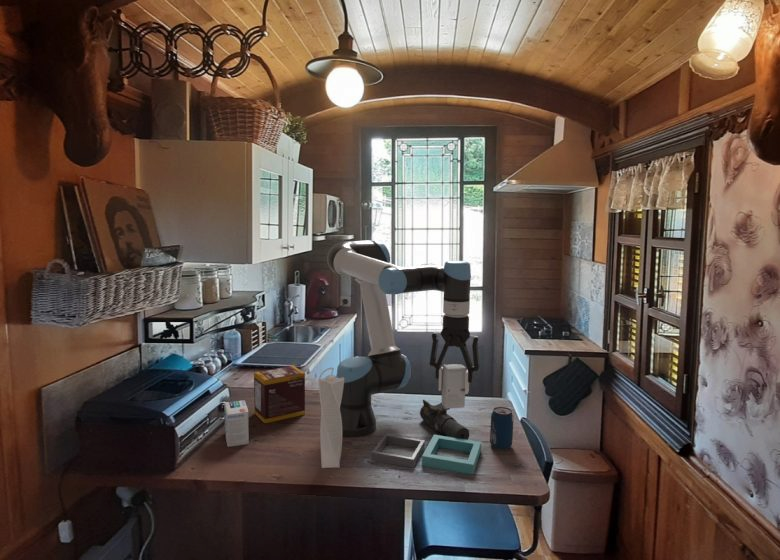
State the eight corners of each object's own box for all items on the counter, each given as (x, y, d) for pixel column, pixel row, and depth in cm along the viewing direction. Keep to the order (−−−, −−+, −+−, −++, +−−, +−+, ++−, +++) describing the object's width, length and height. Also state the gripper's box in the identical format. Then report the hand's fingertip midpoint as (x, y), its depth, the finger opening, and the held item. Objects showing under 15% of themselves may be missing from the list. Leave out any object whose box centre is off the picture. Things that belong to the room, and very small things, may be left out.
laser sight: (449, 448, 163) (450, 418, 162) (413, 421, 183) (414, 394, 182) (474, 442, 168) (475, 412, 166) (436, 416, 188) (437, 390, 186)
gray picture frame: (371, 460, 155) (371, 452, 154) (385, 441, 167) (385, 434, 167) (413, 467, 151) (413, 459, 150) (424, 447, 163) (424, 440, 163)
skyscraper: (319, 456, 156) (319, 366, 152) (344, 455, 157) (344, 366, 153) (317, 469, 149) (317, 375, 144) (343, 469, 149) (344, 375, 145)
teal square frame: (421, 465, 152) (422, 455, 152) (433, 443, 166) (434, 434, 166) (473, 474, 147) (473, 464, 147) (480, 451, 162) (481, 442, 161)
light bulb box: (224, 433, 171) (223, 402, 169) (245, 430, 173) (244, 399, 172) (227, 447, 161) (226, 414, 159) (249, 444, 164) (248, 411, 162)
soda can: (514, 444, 166) (516, 409, 164) (507, 453, 160) (509, 416, 159) (494, 439, 170) (495, 404, 168) (486, 447, 164) (488, 411, 162)
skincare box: (445, 409, 151) (446, 369, 149) (440, 403, 155) (441, 364, 154) (465, 407, 152) (467, 367, 151) (460, 402, 157) (461, 363, 155)
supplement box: (305, 414, 187) (305, 372, 185) (264, 424, 178) (263, 380, 176) (294, 405, 196) (293, 365, 193) (254, 413, 187) (253, 371, 185)
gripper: (419, 314, 150) (417, 390, 153) (489, 320, 143) (485, 399, 147) (425, 309, 157) (424, 382, 160) (492, 314, 150) (489, 390, 154)
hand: (453, 390), depth 153 cm, fingers closed on skincare box, 7 cm apart
